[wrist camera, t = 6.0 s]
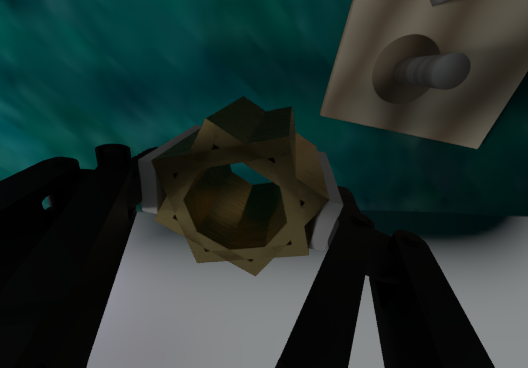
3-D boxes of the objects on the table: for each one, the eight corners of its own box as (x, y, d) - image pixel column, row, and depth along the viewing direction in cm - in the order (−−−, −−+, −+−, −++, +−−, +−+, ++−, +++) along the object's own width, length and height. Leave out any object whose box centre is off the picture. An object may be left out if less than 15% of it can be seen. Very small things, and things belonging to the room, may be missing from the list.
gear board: (319, 113, 28) (329, 132, 20) (399, -165, 18) (489, -370, 10) (468, 145, 27) (544, 178, 19) (635, -125, 17) (951, -306, 9)
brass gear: (220, 210, 19) (184, 280, 13) (185, 108, 16) (112, 137, 9) (322, 198, 17) (337, 272, 11) (308, 81, 14) (319, 95, 8)
